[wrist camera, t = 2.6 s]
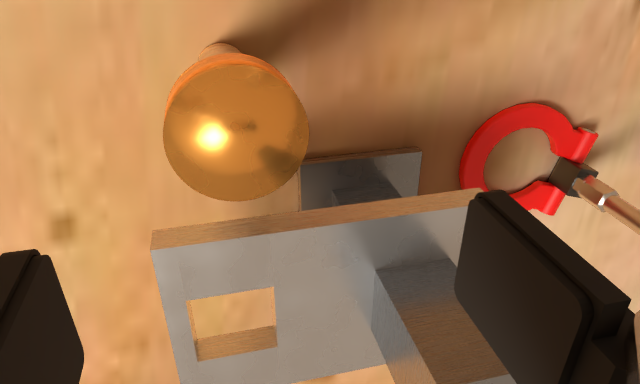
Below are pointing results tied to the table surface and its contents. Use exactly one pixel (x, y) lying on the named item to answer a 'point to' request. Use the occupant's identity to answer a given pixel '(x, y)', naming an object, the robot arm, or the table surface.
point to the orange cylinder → (234, 126)
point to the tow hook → (567, 173)
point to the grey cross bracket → (332, 281)
